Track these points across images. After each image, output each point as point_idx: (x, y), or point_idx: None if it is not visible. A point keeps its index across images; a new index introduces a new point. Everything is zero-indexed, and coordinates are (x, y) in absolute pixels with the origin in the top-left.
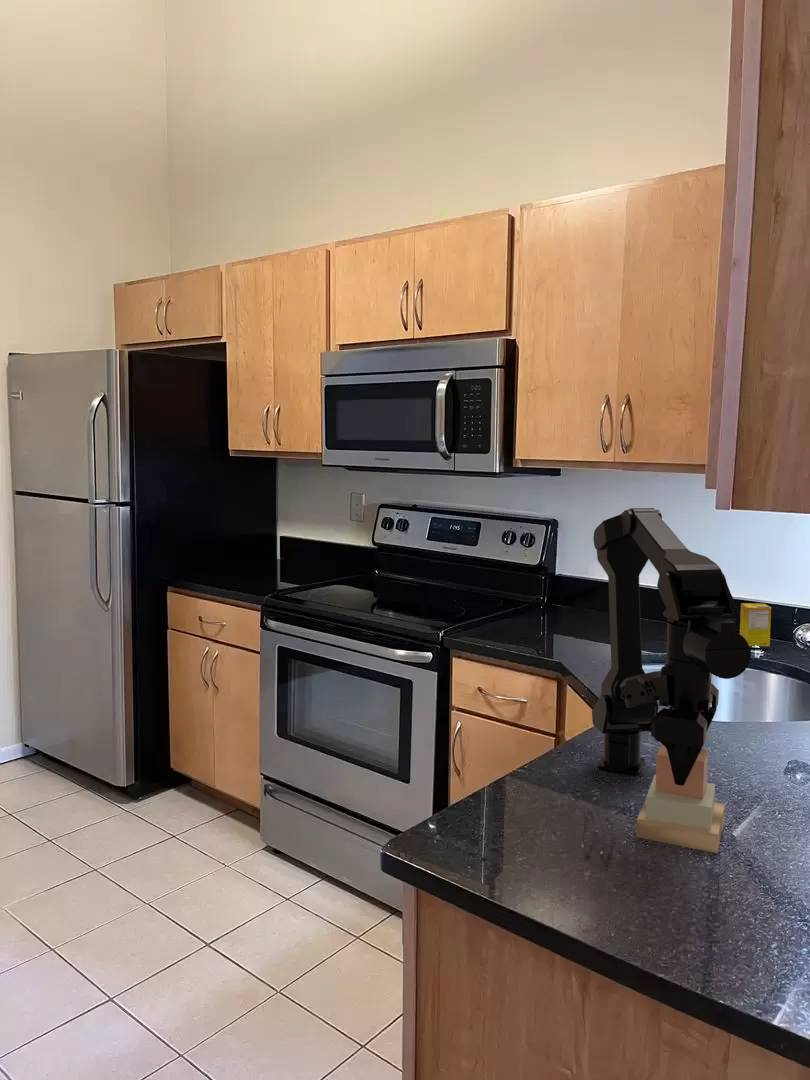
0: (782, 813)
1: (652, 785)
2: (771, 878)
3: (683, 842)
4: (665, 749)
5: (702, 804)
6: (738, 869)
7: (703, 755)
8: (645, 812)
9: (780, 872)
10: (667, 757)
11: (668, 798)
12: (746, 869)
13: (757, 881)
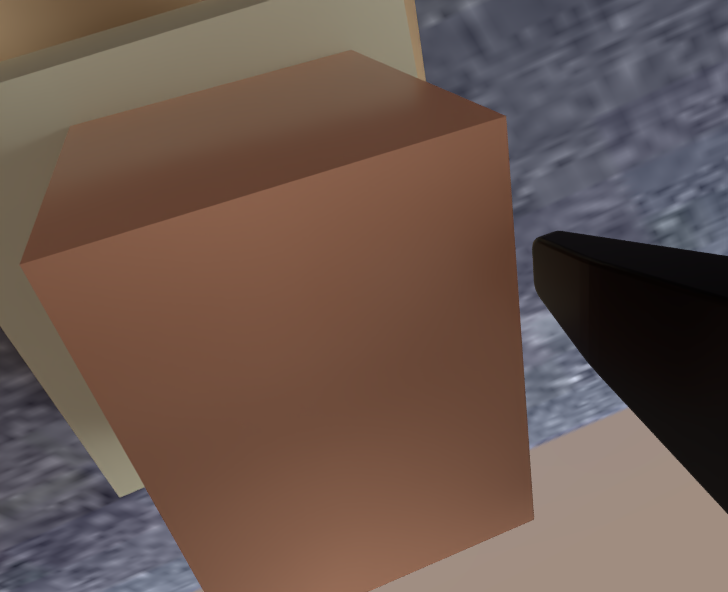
0: (592, 378)
1: (156, 54)
2: (74, 573)
3: None
4: (327, 250)
5: (120, 451)
6: (38, 494)
7: (396, 561)
8: (21, 35)
9: (145, 565)
10: (95, 382)
11: (12, 273)
12: (65, 508)
13: (7, 565)
